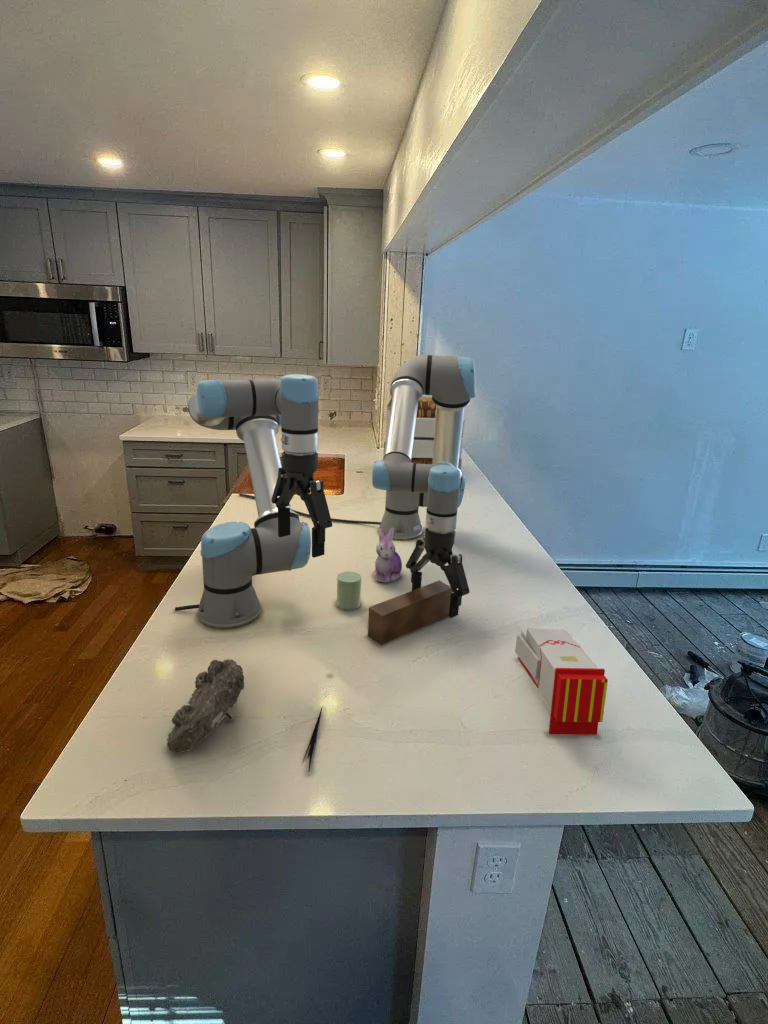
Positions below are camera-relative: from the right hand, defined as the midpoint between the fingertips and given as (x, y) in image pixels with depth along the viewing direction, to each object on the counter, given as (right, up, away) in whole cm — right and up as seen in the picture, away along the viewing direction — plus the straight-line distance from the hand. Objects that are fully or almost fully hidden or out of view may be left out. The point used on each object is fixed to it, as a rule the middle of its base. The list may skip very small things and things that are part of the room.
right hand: (434, 605), depth 146 cm
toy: (+22, -14, -26) cm, 37 cm away
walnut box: (-6, -4, -4) cm, 8 cm away
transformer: (+4, +43, +128) cm, 136 cm away
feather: (-25, -16, -38) cm, 48 cm away
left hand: (-31, +17, -21) cm, 42 cm away
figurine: (-12, +5, +21) cm, 25 cm away
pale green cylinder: (-22, 0, +5) cm, 23 cm away
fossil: (-46, -15, -38) cm, 62 cm away
